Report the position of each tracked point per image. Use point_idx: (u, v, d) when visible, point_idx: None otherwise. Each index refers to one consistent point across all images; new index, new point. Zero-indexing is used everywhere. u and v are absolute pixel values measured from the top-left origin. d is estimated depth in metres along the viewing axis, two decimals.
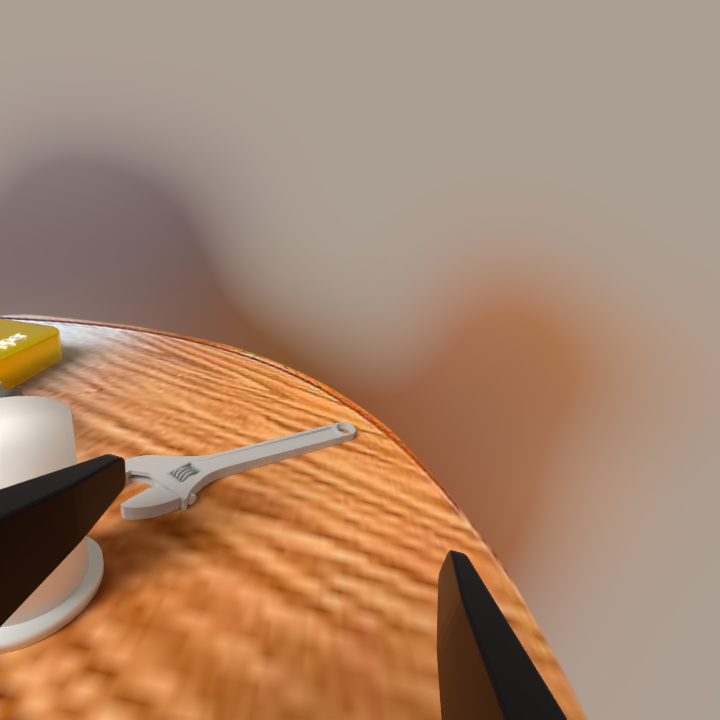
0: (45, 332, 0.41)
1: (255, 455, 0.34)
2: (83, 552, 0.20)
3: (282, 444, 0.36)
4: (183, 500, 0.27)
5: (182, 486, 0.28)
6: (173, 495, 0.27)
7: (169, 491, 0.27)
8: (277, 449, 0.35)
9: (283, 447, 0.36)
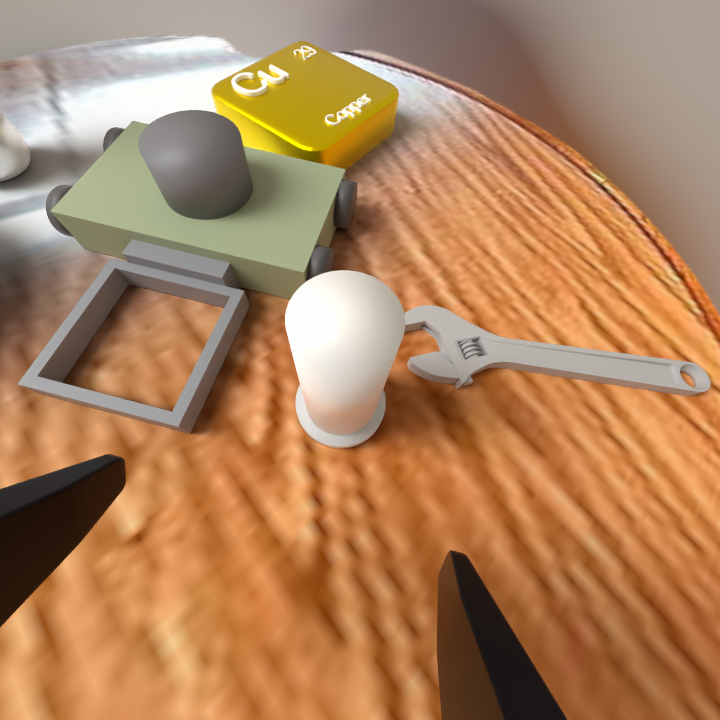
0: (386, 96, 0.35)
1: (551, 361, 0.27)
2: (375, 409, 0.22)
3: (589, 360, 0.27)
4: (461, 383, 0.25)
5: (464, 365, 0.26)
6: (454, 372, 0.25)
7: (451, 365, 0.26)
8: (580, 365, 0.27)
9: (588, 366, 0.27)
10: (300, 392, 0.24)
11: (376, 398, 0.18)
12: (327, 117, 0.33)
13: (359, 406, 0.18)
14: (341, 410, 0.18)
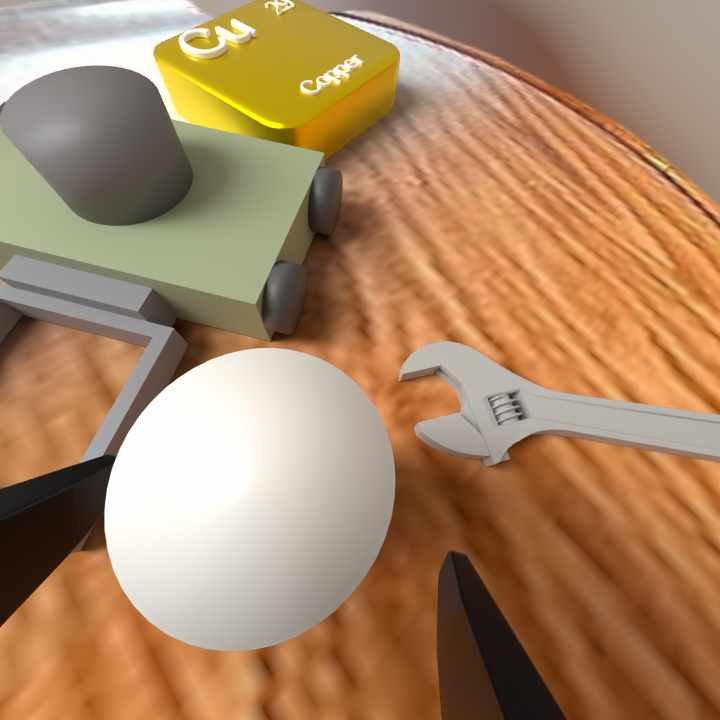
0: (384, 58, 0.27)
1: (624, 428, 0.18)
2: None
3: (680, 427, 0.19)
4: (493, 464, 0.17)
5: (498, 435, 0.18)
6: (482, 446, 0.17)
7: (479, 434, 0.18)
8: (667, 435, 0.18)
9: (679, 435, 0.18)
10: None
11: None
12: (304, 85, 0.25)
13: None
14: None
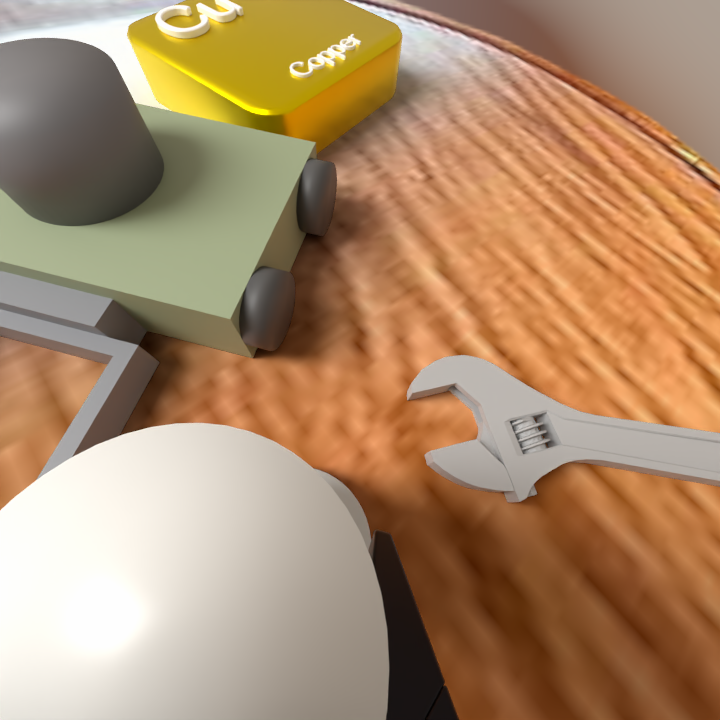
0: (384, 38, 0.24)
1: (668, 456, 0.16)
2: None
3: None
4: (518, 501, 0.15)
5: (523, 466, 0.15)
6: (505, 479, 0.15)
7: (501, 465, 0.15)
8: (718, 466, 0.16)
9: None
10: None
11: None
12: (294, 67, 0.22)
13: None
14: None
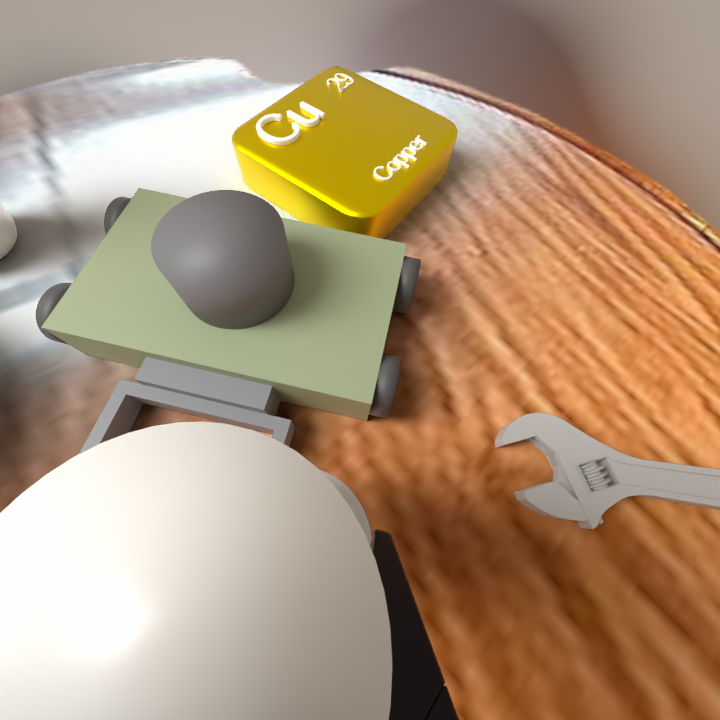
0: (444, 137, 0.29)
1: (700, 491, 0.21)
2: None
3: None
4: (591, 528, 0.20)
5: (593, 501, 0.20)
6: (580, 512, 0.20)
7: (576, 501, 0.20)
8: None
9: None
10: None
11: None
12: (376, 170, 0.27)
13: None
14: None
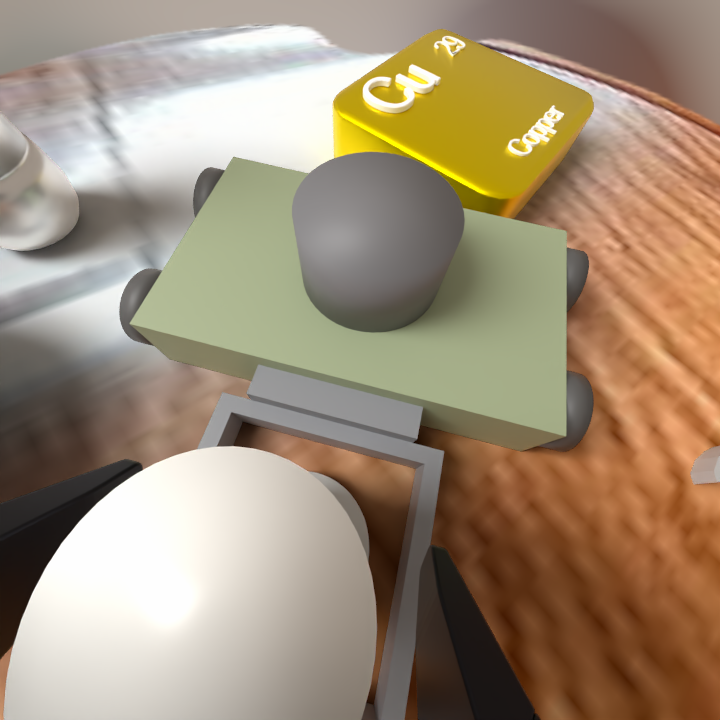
0: (582, 108, 0.24)
1: None
2: None
3: None
4: None
5: None
6: None
7: None
8: None
9: None
10: None
11: None
12: (510, 144, 0.22)
13: None
14: None
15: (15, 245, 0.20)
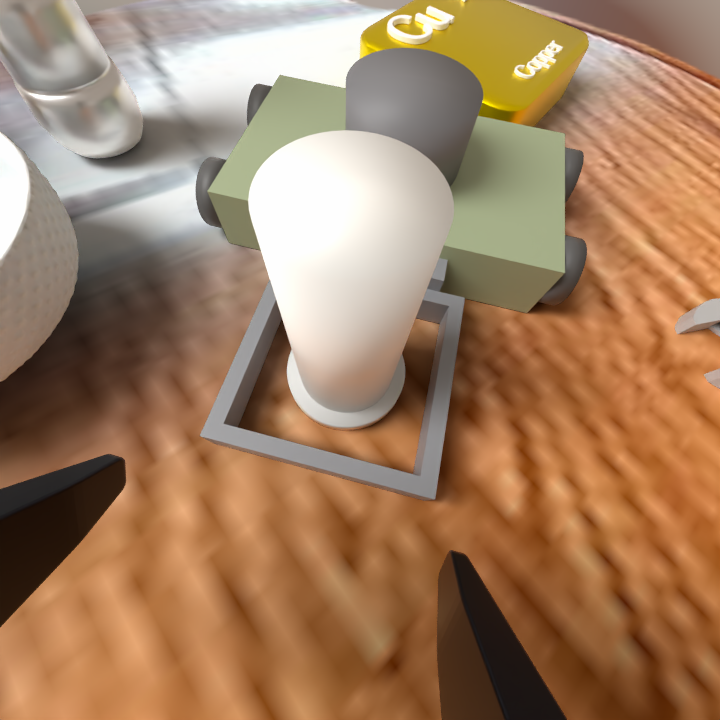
0: (578, 44, 0.28)
1: None
2: (392, 376, 0.16)
3: None
4: None
5: None
6: None
7: None
8: None
9: None
10: (293, 357, 0.18)
11: (397, 353, 0.13)
12: (516, 69, 0.26)
13: (373, 362, 0.12)
14: (346, 368, 0.12)
15: (94, 150, 0.23)
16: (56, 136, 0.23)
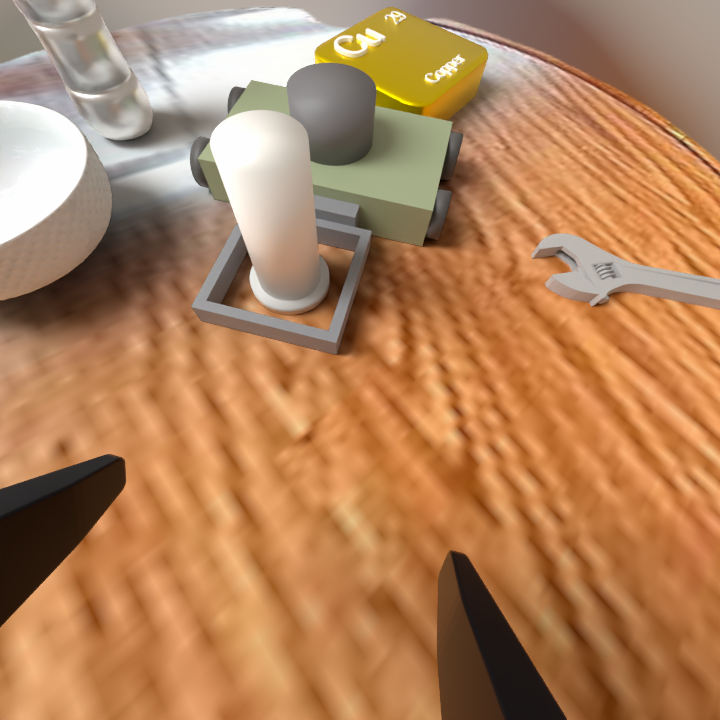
0: (478, 57, 0.37)
1: (680, 286, 0.29)
2: (314, 272, 0.25)
3: (716, 289, 0.29)
4: (600, 298, 0.28)
5: (602, 284, 0.28)
6: (593, 289, 0.28)
7: (590, 283, 0.29)
8: (708, 292, 0.29)
9: (716, 293, 0.29)
10: (254, 268, 0.28)
11: (304, 242, 0.22)
12: (427, 76, 0.35)
13: (286, 242, 0.21)
14: (271, 246, 0.21)
15: (118, 133, 0.33)
16: (92, 123, 0.32)
